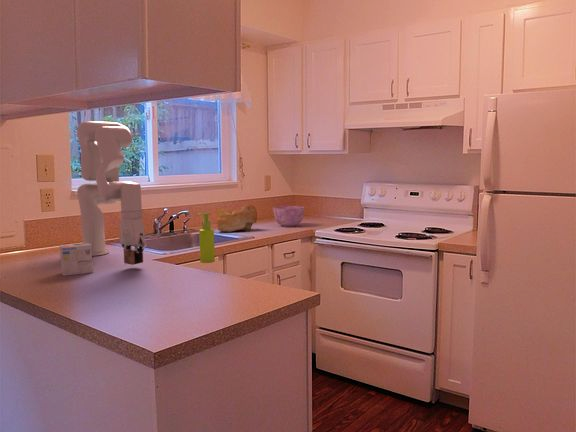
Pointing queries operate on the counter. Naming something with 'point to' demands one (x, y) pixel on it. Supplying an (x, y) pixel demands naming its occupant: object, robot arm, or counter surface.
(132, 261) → the walnut cube
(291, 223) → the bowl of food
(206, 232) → the soap dispenser
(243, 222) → the rough brown rock
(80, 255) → the light bulb box
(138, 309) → the counter surface
